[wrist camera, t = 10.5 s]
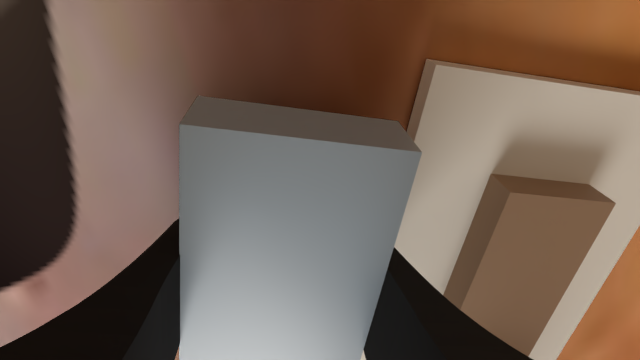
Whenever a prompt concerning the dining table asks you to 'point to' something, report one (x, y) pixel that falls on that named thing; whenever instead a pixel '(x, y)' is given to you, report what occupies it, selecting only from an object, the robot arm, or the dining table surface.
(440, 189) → the latch box
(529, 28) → the dining table surface
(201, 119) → the cover
